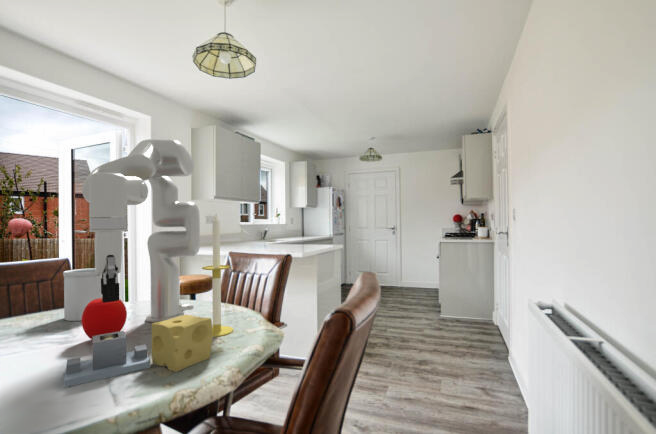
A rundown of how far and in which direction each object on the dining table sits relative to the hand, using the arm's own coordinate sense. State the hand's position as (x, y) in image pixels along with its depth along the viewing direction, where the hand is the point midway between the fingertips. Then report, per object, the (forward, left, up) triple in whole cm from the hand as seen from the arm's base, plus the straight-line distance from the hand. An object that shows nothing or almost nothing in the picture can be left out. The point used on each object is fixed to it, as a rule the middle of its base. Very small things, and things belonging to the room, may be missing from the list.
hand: (109, 297), depth 80 cm
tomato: (0, -25, -17) cm, 31 cm away
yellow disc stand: (-29, -11, -17) cm, 35 cm away
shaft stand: (0, +1, -17) cm, 17 cm away
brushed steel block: (0, 0, -15) cm, 15 cm away
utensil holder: (+4, -61, -17) cm, 64 cm away
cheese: (-15, +6, -17) cm, 23 cm away
